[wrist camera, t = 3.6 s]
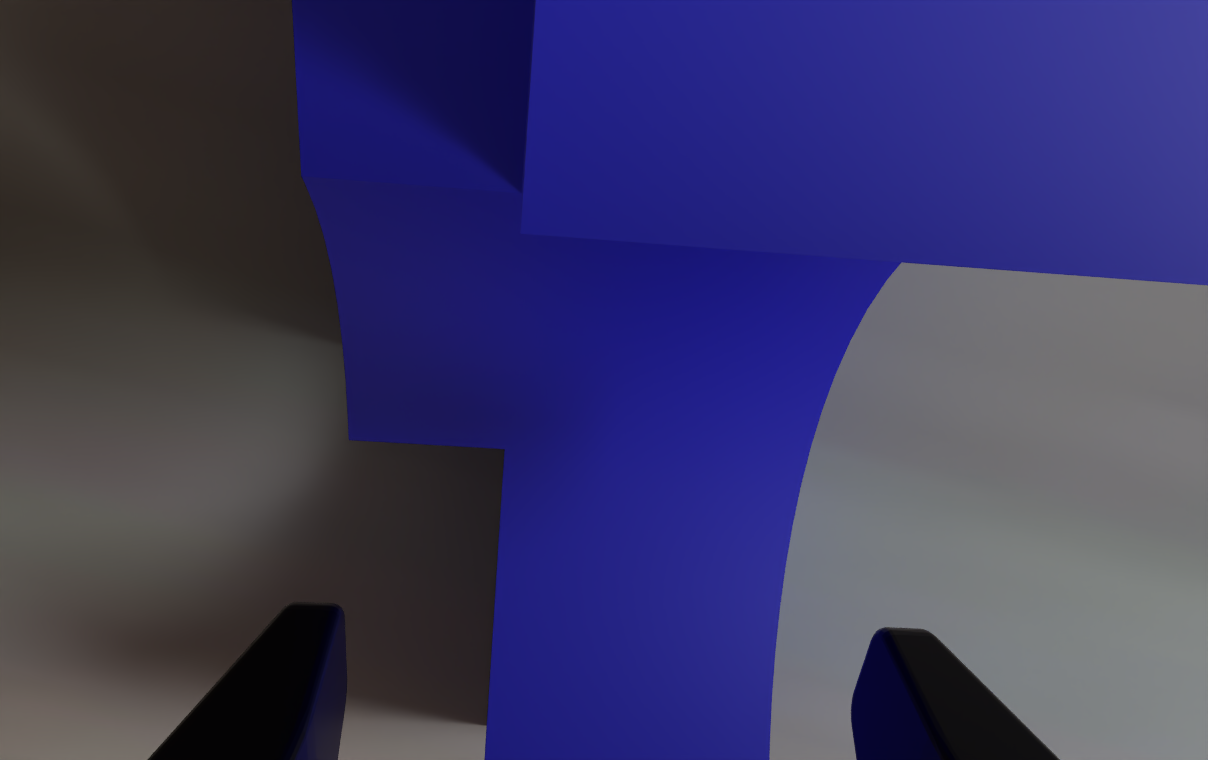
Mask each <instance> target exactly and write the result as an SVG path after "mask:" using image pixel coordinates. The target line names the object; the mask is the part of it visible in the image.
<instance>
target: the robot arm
mask: <svg viewBox="0 0 1208 760" xmlns="http://www.w3.org/2000/svg"><path fill="white" fill-rule="evenodd" d="M346 693H347V662H346V636H345V615H344V611H343V609H342V608H341V607H340V606H339V605H337V604H334V603H312V602H293V603H291V604H288V605H287V606H285V607H284V608H283V609H282V610H281V611H280V613H279V614H278V615H277V616H276V617H275V618H274V619H273V620H272V622H271V623H270V624H269V625H268V626H267V627H266V628H265V629H264V630H263V632H262V633H261V634H260V635H259V636H258V637H257V638H256V639H255V640H254V642H253V643H252V644H251V645H250V646H249V647H248V648H247V649H246V651H245V652H244V653H243V654H242V655H241V656H240V657H239V658H238V659H237V661H236V662H235V663H234V664H233V665H232V666H231V667H230V668H229V669H228V671H227V672H226V673H225V674H224V675H223V676H222V677H221V678H220V679H219V681H218V682H217V683H216V684H215V685H214V686H213V687H212V688H211V690H210V691H209V692H208V693H207V694H206V695H205V696H204V697H203V698H202V700H201V701H200V702H199V703H198V704H197V705H196V706H195V707H194V708H193V710H192V711H191V712H190V713H189V714H188V715H187V716H186V717H185V719H184V720H183V721H182V722H181V723H180V724H179V725H178V726H177V727H176V729H175V730H174V731H173V732H172V733H171V734H170V735H169V736H168V737H167V739H166V740H165V741H164V742H163V743H162V744H161V745H160V746H159V747H158V749H157V750H156V751H155V752H154V753H153V754H152V755H151V756H150V758H149V759H148V760H338V753H339V746H340V739H341V732H342V725H343V718H344V711H345V703H346ZM851 722H852V730H853V738H854V745H855V752H856V759H857V760H1060V759H1059V758H1058V757H1057V756H1056V755H1055V754H1054V753H1053V752H1052V751H1051V750H1050V749H1049V748H1048V747H1047V746H1046V745H1045V744H1043V743H1042V742H1041V741H1040V740H1039V739H1038V738H1037V737H1036V736H1035V735H1034V734H1033V733H1032V732H1031V731H1030V730H1029V729H1028V728H1027V727H1026V726H1025V725H1024V724H1023V723H1022V722H1021V721H1020V720H1019V719H1018V718H1017V717H1016V716H1015V715H1014V714H1013V713H1012V712H1011V711H1010V710H1009V709H1008V708H1007V707H1006V706H1005V705H1004V704H1003V703H1002V702H1001V701H1000V700H999V699H998V698H997V697H996V696H995V695H994V694H993V693H992V692H991V691H990V690H989V689H988V688H987V687H986V686H985V685H984V684H983V683H982V682H981V681H980V680H979V679H978V678H977V677H976V676H975V675H974V674H973V673H972V672H971V671H970V670H969V669H968V668H967V667H966V666H965V665H964V664H963V663H962V662H961V661H960V660H959V659H958V658H957V657H956V656H955V655H954V654H953V653H952V652H951V651H950V650H949V649H948V648H947V647H946V646H945V645H944V644H943V643H942V642H941V641H940V640H939V639H938V638H937V637H936V636H934V635H933V634H932V633H930V632H929V631H927V630H924V629H912V628H890V627H885V628H881V629H879V630H878V631H877V632H876V633H875V634H874V635H873V637H872V640H871V642H870V645H869V648H868V651H867V654H866V657H865V660H864V663H863V666H862V669H861V672H860V675H859V678H858V681H857V684H856V687H855V690H854V693H853V697H852V704H851Z"/></svg>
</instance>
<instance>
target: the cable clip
mask: <svg viewBox="0 0 1208 760" xmlns="http://www.w3.org/2000/svg"><path fill="white" fill-rule="evenodd" d="M292 12H293V30H294V49H295V68H296V86H297V105H298V124H299V142H300V161H301V177H302V179H303V181H304V183H305V185H306V187H307V190H308V192H309V195H310V197H311V199H312V202H313V204H314V207H315V209H316V212H317V216H318V219H319V222H320V226H321V229H322V232H323V235H324V239H325V243H326V247H327V252H328V256H329V261H330V265H331V270H332V275H333V281H334V287H335V293H336V298H337V304H338V312H339V320H340V328H341V336H342V344H343V356H344V367H345V378H346V394H347V411H348V433H349V440H356V441H373V442H391V443H408V444H425V445H443V446H460V447H477V448H495V449H505V450H504V466H503V481H502V497H501V512H500V528H499V543H498V559H497V574H496V590H495V605H494V621H493V636H492V652H491V667H490V683H489V698H488V714H487V730H486V745H485V760H769V751H770V725H771V703H772V688H773V674H774V660H775V649H776V639H777V629H778V620H779V610H780V602H781V595H782V588H783V580H784V573H785V566H786V560H787V554H788V548H789V542H790V537H791V531H792V525H793V520H794V516H795V511H796V506H797V501H798V497H799V492H800V487H801V483H802V479H803V475H804V471H805V467H806V463H807V459H808V456H809V452H810V448H811V444H812V441H813V438H814V435H815V431H816V428H817V425H818V422H819V418H820V415H821V412H822V409H823V406H824V404H825V401H826V398H827V395H828V393H829V390H830V387H831V385H832V382H833V379H834V376H835V374H836V372H837V369H838V367H839V365H840V363H841V360H842V358H843V356H844V354H845V351H846V349H847V347H848V345H849V342H850V340H851V338H852V337H853V335H854V333H855V331H856V329H857V327H858V325H859V324H860V322H861V320H862V318H863V316H864V314H865V312H866V311H867V309H868V307H869V306H870V304H871V303H872V301H873V300H874V298H875V297H876V295H877V294H878V292H879V291H880V289H881V288H882V286H883V285H884V283H885V282H886V280H887V279H888V278H889V277H890V275H891V274H892V273H893V272H894V271H895V269H896V268H897V267H898V266H899V265H900V263H901V262H904V263H917V264H931V265H944V266H957V267H971V268H984V269H997V270H1011V271H1024V272H1037V273H1051V274H1064V275H1077V276H1091V277H1104V278H1117V279H1131V280H1144V281H1157V282H1171V283H1184V284H1197V285H1208V0H292Z"/></svg>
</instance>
